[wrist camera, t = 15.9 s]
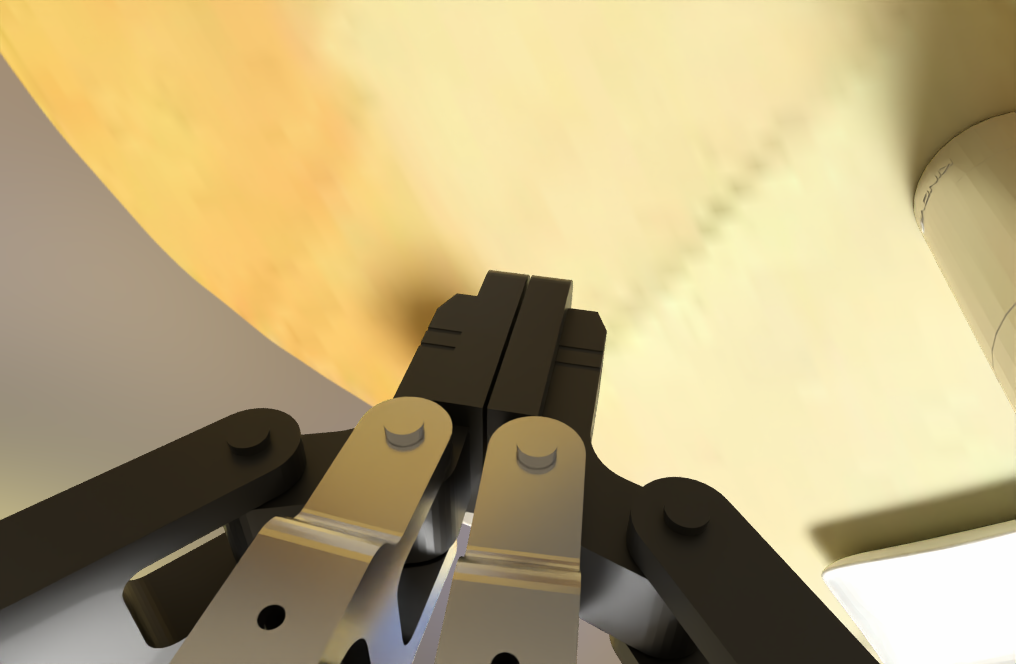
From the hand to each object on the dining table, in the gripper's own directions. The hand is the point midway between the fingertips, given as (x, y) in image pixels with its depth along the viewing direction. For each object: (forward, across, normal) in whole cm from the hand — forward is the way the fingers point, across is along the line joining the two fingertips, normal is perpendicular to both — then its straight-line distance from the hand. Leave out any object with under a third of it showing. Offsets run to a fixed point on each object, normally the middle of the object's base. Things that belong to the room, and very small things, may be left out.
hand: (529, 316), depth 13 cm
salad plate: (+33, -35, +45) cm, 66 cm away
